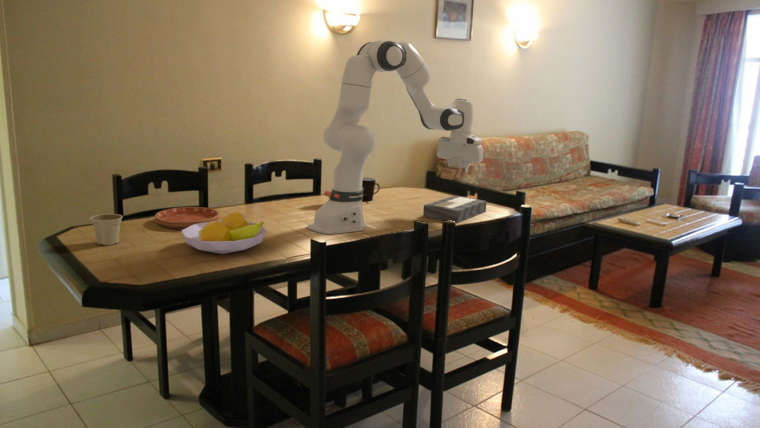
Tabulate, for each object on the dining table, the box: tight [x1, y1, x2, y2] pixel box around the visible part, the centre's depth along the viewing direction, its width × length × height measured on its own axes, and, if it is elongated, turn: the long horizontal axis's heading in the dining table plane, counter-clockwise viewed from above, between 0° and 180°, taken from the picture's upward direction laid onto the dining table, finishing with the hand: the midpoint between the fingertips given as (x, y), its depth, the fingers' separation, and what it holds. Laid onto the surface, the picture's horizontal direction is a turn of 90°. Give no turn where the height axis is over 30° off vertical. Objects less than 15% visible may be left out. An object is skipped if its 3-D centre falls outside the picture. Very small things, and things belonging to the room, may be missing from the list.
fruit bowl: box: [180, 210, 268, 255], centre depth 182 cm, size 28×27×11 cm
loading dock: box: [422, 195, 487, 224], centre depth 245 cm, size 28×16×5 cm, turn 146°
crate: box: [450, 157, 464, 168], centre depth 239 cm, size 4×4×4 cm
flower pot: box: [89, 213, 123, 246], centre depth 183 cm, size 9×9×9 cm
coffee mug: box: [362, 176, 381, 202], centre depth 265 cm, size 12×9×10 cm
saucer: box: [154, 206, 220, 230], centre depth 213 cm, size 23×23×4 cm
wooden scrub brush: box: [440, 163, 476, 181], centre depth 241 cm, size 22×5×4 cm, turn 146°
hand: (458, 170), depth 241 cm, fingers closed on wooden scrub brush, 5 cm apart
